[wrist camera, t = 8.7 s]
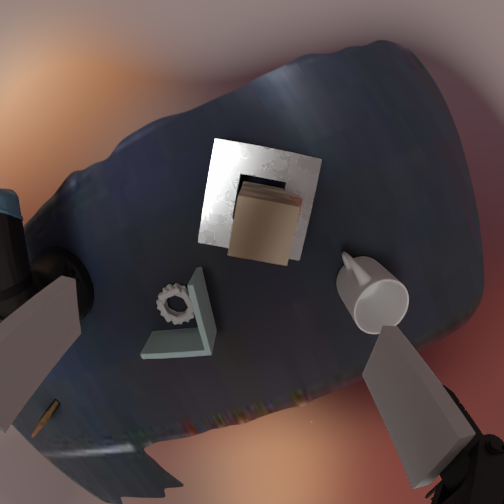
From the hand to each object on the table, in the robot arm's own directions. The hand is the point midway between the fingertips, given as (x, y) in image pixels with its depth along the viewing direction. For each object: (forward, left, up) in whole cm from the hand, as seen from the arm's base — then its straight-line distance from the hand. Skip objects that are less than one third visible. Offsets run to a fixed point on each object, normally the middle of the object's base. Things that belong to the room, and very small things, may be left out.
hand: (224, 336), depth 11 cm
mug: (+20, -7, -35) cm, 41 cm away
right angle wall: (-9, -18, -35) cm, 40 cm away
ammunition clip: (-44, -62, -35) cm, 84 cm away
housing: (+2, +2, -35) cm, 35 cm away
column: (+2, +2, -27) cm, 27 cm away
